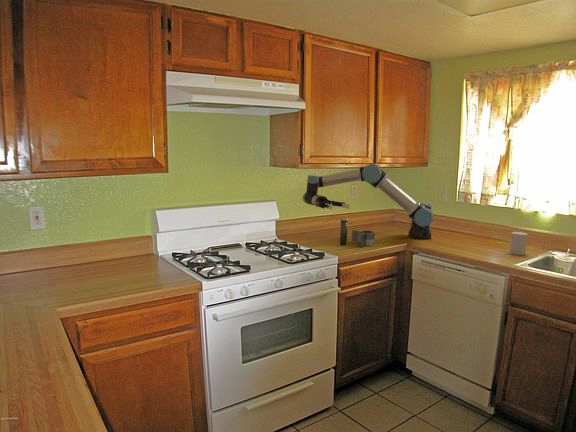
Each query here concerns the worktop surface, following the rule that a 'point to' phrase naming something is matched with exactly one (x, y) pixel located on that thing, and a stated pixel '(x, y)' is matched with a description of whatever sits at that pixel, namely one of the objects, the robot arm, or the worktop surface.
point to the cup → (518, 243)
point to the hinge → (363, 238)
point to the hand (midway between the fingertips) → (341, 207)
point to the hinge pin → (343, 231)
